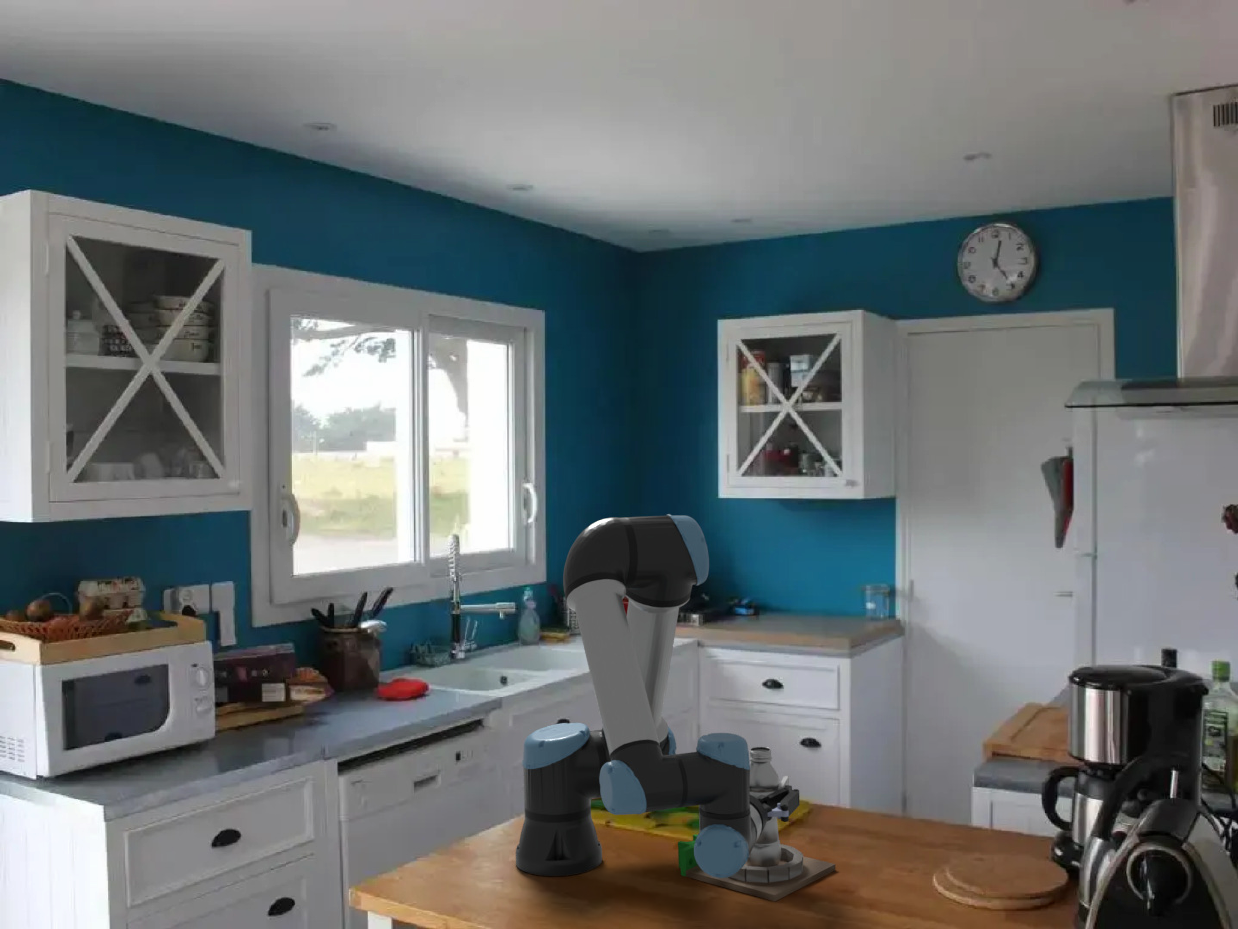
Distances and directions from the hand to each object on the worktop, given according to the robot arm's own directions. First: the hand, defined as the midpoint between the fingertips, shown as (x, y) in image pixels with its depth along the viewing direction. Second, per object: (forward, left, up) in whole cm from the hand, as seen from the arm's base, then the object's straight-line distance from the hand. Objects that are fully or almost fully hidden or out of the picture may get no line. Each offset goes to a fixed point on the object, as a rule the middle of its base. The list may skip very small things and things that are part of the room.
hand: (764, 782), depth 208 cm
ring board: (+2, -4, -14) cm, 15 cm away
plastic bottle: (+2, -4, -13) cm, 14 cm away
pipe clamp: (-9, -8, -14) cm, 19 cm away
